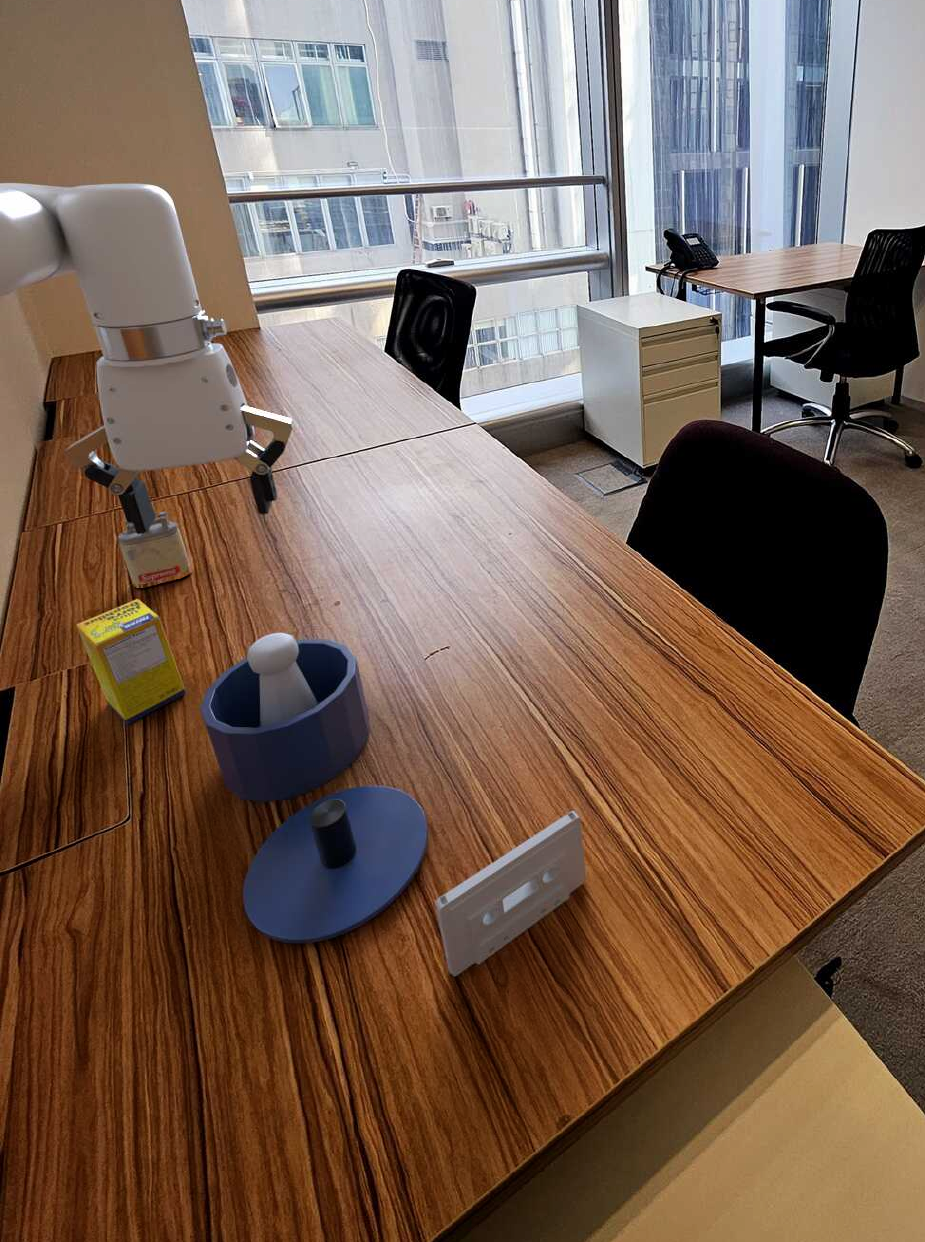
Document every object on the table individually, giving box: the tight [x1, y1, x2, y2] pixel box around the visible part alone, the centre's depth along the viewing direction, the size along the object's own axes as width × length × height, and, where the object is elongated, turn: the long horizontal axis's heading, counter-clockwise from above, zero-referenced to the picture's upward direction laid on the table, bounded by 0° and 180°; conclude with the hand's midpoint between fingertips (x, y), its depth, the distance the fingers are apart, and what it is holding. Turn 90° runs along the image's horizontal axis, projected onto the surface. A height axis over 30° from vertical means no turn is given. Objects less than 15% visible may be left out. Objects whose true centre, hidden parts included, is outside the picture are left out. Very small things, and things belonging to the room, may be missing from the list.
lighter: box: [117, 511, 191, 584], centre depth 104 cm, size 7×4×10 cm, turn 122°
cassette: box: [434, 810, 587, 977], centre depth 58 cm, size 12×2×8 cm, turn 131°
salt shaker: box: [246, 632, 319, 727], centre depth 74 cm, size 6×6×13 cm
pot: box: [199, 638, 371, 803], centre depth 75 cm, size 14×14×8 cm
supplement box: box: [76, 598, 187, 726], centre depth 81 cm, size 6×6×11 cm
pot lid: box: [242, 785, 429, 945], centre depth 63 cm, size 15×15×6 cm
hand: (207, 517), depth 69 cm, fingers open, 9 cm apart
